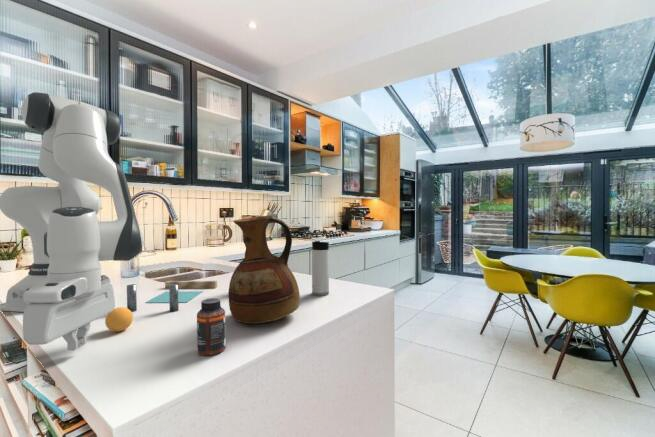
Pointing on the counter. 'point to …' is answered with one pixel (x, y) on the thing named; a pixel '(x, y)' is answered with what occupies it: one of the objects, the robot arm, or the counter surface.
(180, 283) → the stopper wall
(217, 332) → the supplement bottle
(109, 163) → the robot arm
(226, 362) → the counter surface
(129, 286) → the left post
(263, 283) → the ceramic pitcher
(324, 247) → the travel mug
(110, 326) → the ball
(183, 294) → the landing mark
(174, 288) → the right post
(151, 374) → the counter surface
